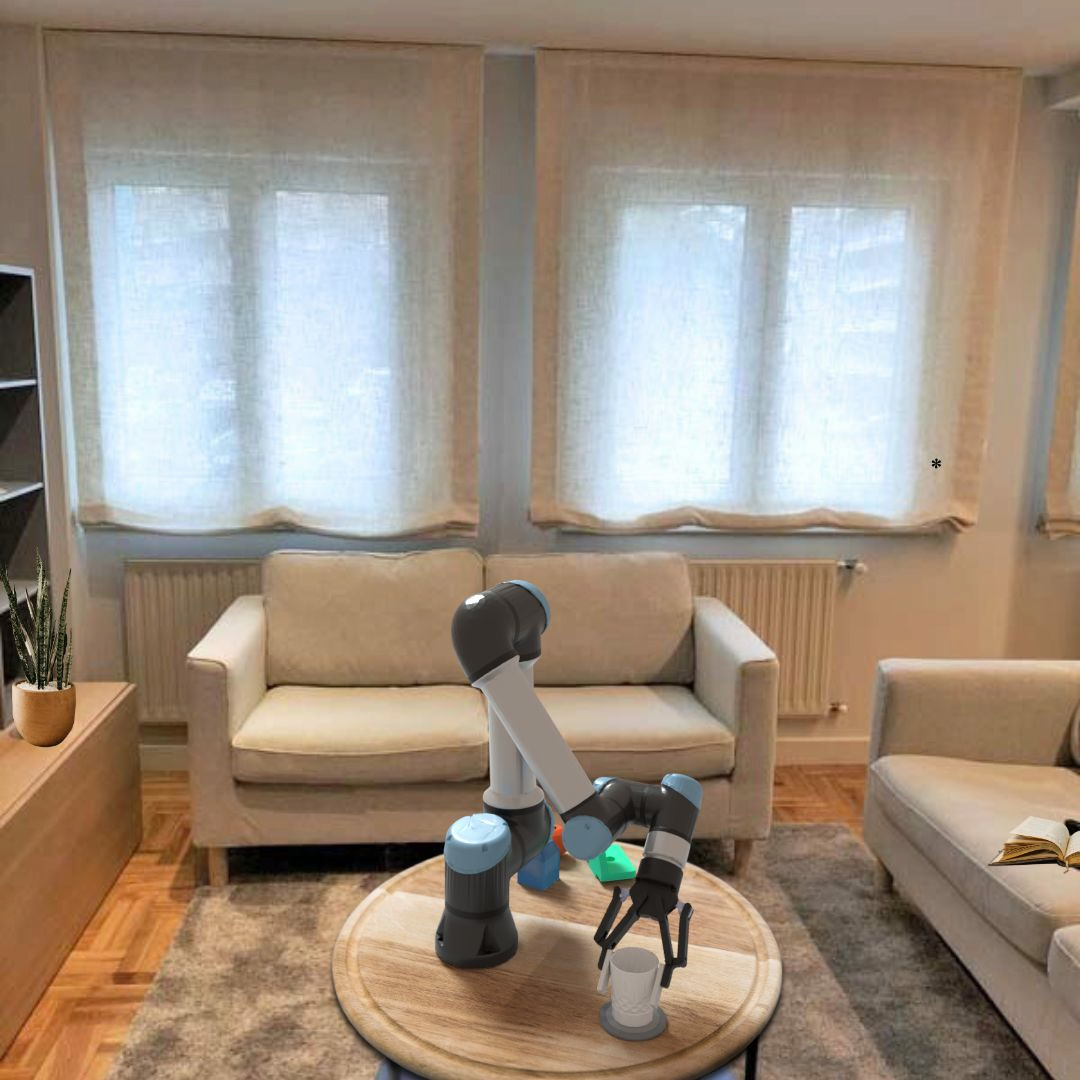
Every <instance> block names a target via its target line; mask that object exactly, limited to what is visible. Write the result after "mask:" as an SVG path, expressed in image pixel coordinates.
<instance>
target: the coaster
mask: <svg viewBox="0 0 1080 1080" xmlns="http://www.w3.org/2000/svg"><path fill="white" fill-rule="evenodd" d="M598 1016H599V1017H598V1020H599V1023H600V1025H601V1028H602V1029H603V1030H604V1031H605V1032H607V1034H609V1035H611V1036H612V1037H615V1038H618V1039H620V1040H622V1041H623V1040H624V1041H629V1042H643V1041H649V1040H652V1039H654V1038H657V1037H658V1036H660V1035H661V1034H662V1033H663V1032H664V1031H665V1029H666V1028H667V1015H666V1012H665V1011H664V1010H663V1008H662V1007H661V1006H660V1005H658V1008H657V1009H654V1014H653V1019H652V1021H651V1022H650V1023H648V1024H647V1025H645V1026H641V1027H628V1026H624V1025H621V1024H620V1023H618V1022H617V1021H616V1020H615V1019H614V1017H613V1015H612V999H610V1000H609V1001H607V1002H605V1003H604V1004H603V1005H602V1006H601V1008H600V1011H599V1014H598Z"/></svg>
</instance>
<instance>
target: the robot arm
mask: <svg viewBox="0 0 1080 1080" xmlns="http://www.w3.org/2000/svg"><path fill="white" fill-rule="evenodd" d="M551 612H552V611H551V607H550V603H549V601H548V599H547V597H546V595H545V594H544V593H543V592H542V591H541V590H540V589H539V588H538V587H537V586H535V584H533V583H530V582H528V581H526V580H519V579H513V580H510V581H503V582H500V583H498V584H497V585H495V586H493V587H491V588H489V589H486V590H484V591H482V592H478V593H474V594H472V595H471V596H468V597H467V598H465V599H464V600H463V601H462V602H461V603H460V604H459V605H458V606H457V608H456V610H455V612H454V614H453V617H452V619H451V625H450V636H451V644H452V647H453V651H454V653H455V657H456V659H457V661H458V664H459V665H460V668H461V670H462V671H463V673H464V675H465V677H466V678H467V680H468V681H469V683H470V685H471V687H473V688H478V689H479V690H481V691H482V693H483V694H484V696H485V698H486V699H487V710H488V711H487V714H488V715H487V716H488V739H489V740H488V741H489V742H488V744H489V747H488V748H489V775H490V776H489V777H490V778H489V779H490V780H489V781H490V782H489V783H490V785H489V787H488V788H486V790H485V791H484V792H483V794H482V807H483V808H482V811H483V812H482V813H481V812H480V813H473V814H472V815H471V816H470V815H465V816H463V817H461V818H459V819H457V820H456V821H455V822H454V823H452V824H451V826H450V827H448V829H447V832H446V834H445V843H444V848H443V856H444V908H443V911H442V913H441V917H440V920H439V923H438V924H437V928H436V931H435V935H434V950H435V952H436V954H437V957H439V958H440V959H441V960H442V961H444V962H445V963H447V964H449V965H451V966H454V967H457V968H460V969H467V970H468V969H469V970H484V969H490V968H495V967H497V966H501V965H503V964H505V963H507V962H508V961H510V960H511V959H512V958H514V956H516V954H517V952H518V949H519V931H518V929H517V926H516V923H515V920H514V916H513V914H512V910H511V908H510V881H511V879H512V878H513V876H514V875H516V874H517V872H518V871H519V870H520V869H522V868H523V867H524V866H525V865H526V864H527V863H529V862H530V861H531V860H532V859H533V858H535V857H536V856H538V855H539V854H540V853H541V852H542V851H543V850H544V849H545V847H546V846H547V844H548V843H549V842H550V840H551V838H552V836H553V833H554V828H555V824H556V821H555V820H556V819H555V814H554V811H553V809H552V807H551V806H550V805H549V804H548V801H547V800H546V798H545V794H546V795H547V797H548V799H549V801H550V802H551V804H552V805H553V807H554V809H555V810H556V812H557V813H558V815H559V817H560V819H561V821H562V822H563V824H564V826H563V830H562V840H563V845H564V847H565V849H566V850H567V851H566V852H567V853H568V854H569V855H570V856H572V857H573V858H575V859H577V860H580V861H585V862H588V860H592V859H595V858H596V857H598V856H599V855H600V854H601V853H603V852H605V851H606V850H607V849H608V848H609V847H610V846H611V845H613V843H614V842H615V841H616V840H617V839H618V838H619V837H620V836H622V834H623V833H625V831H626V830H627V829H629V828H630V827H631V826H635V827H641V828H645V829H648V831H647V832H648V833H647V837H646V840H645V844H644V847H643V850H642V859H640V861H639V865H638V869H637V873H636V874H635V880H634V883H633V884H632V885H631V886H630V887H629V888H626V887H625V888H622V887H621V886H619V885H615V886H614V887H613V891H612V898H611V900H610V901H609V902H610V903H609V905H608V907H607V909H606V911H605V913H604V915H603V917H602V919H601V921H600V923H599V925H598V927H597V929H596V931H595V933H594V935H593V941H594V942H595V943H596V944H597V946H599V948H601V951H600V955H599V958H598V962H597V970H599V971H601V973H600V976H599V980H598V982H597V985H596V990H597V991H598V993H599V994H601V995H604V996H605V995H606V991H607V989H608V985H609V980H610V957H611V955H612V954H613V953H614V952H615V951H614V949H615V948H616V947H617V945H618V944H620V941H621V940H622V939H623V938H624V936H626V934H627V933H628V931H630V929H631V928H632V927H633V925H634V924H635V923H636V922H637V921H638V920H639V919H641V918H643V919H651V920H653V921H656V922H658V926H659V932H660V933H659V934H660V938H661V945H662V950H663V957H664V963H661V962H660V963H659V965H658V972H657V976H656V980H655V984H654V988H653V992H652V995H651V999H650V1003H649V1004H650V1006H651V1007H652V1008H653V1009H657V1008H658V1006H659V1004H660V1000H661V996H662V992H663V988H664V989H667V990H668V989H669V987H670V985H671V982H672V977H673V975H674V974H673V973H674V970H675V969H677V968H682V969H683V968H686V967H687V965H688V955H689V954H688V952H689V938H690V937H689V933H690V922H691V920H692V919H691V918H692V916H693V914H694V912H695V910H694V908H693V906H692V903H690V902H683V901H680V900H679V894H680V888H681V884H682V881H683V877H684V871H683V869H685V868H686V864H687V862H688V858H689V854H690V849H691V845H692V840H693V836H694V834H695V830H696V827H697V823H698V819H699V815H700V814H701V806H702V800H703V795H704V789H703V787H702V785H701V783H700V782H699V781H697V780H696V779H695V778H693V777H690V776H687V775H685V774H682V773H681V774H680V773H667V774H666V775H665V776H663V779H662V781H660V784H649V783H645V782H639V781H633V780H628V779H622V778H621V777H609V776H608V777H605V776H601V777H598V778H596V779H595V780H594V781H593V783H592V782H591V780H590V779H589V776H587V774H586V772H585V770H584V769H583V767H582V766H581V764H580V762H579V761H578V759H577V757H576V756H575V754H574V753H573V751H572V749H571V748H570V746H569V745H568V743H567V742H566V739H565V738H564V737H563V735H562V734H561V732H560V730H559V729H558V727H557V725H556V724H555V722H554V721H553V719H552V717H551V716H550V714H549V712H548V711H547V709H546V708H545V706H544V705H543V703H542V701H541V699H540V697H539V696H538V694H537V693H536V691H535V686H534V685H535V684H534V683H535V682H534V681H535V680H534V664H535V663H536V662H537V661H538V660H539V659H540V658H541V657H542V635H543V634H544V633H545V632H546V630H547V628H548V627H549V626H550V623H551V616H552V615H551V614H552V613H551ZM537 781H538V783H539V784H540V786H541V787H539V786H538V785H537ZM541 788H542V789H541ZM628 897H630V900H631V903H632V904H631V905H630V907H629V908H628V909H627V911H626V913H625V914H624V916H623V917H622V919H621V920H620V921H619V922H618V924H616V926H615V927H614V929H613V930H611V929H612V927H613V925H614V923H615V921H616V918H617V917H618V914H619V913H620V911H621V908H622V905H623V903H624V902H626V900H627V899H628ZM676 909H677V913H678V915H679V920H678V921H679V922H678V934H677V935H678V937H677V952H676V957H675V953H674V950H673V949H674V947H673V942H672V937H671V936H672V935H671V931H670V923H669V922H670V921H669V915H670V914H671V913H673V911H674V910H676ZM610 931H611V932H610Z"/></svg>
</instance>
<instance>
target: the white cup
mask: <svg viewBox="0 0 1080 1080" xmlns="http://www.w3.org/2000/svg"><path fill="white" fill-rule="evenodd" d="M613 952H614V953H613V954H612V955H611V957H610V978H609V980H610V998H611V999H610V1000H612V1015H613V1017H614V1019H615V1020H616V1021H617V1022H618V1023H620V1024H621V1025H624V1026H628V1027H641V1026H645V1025H647V1024H648V1023H650V1022H651V1021H652V1019H653V1014H654V1009H653V1008H652V1007H651V1006H650V1004H649V1003H650V999H651V995H652V992H653V988H654V984H655V980H656V976H657V972H658V968H659V964H660V963H659V962H660V960H659V957H658V956H657V955H656V954H655V953H654V952H652V951H650V950H649V949H645V948H644V947H643V948H642V947H637V946H629V947H627V946H626V947H621V948H619V949H617V950H615V951H613Z"/></svg>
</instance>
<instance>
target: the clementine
mask: <svg viewBox="0 0 1080 1080" xmlns="http://www.w3.org/2000/svg"><path fill="white" fill-rule="evenodd" d="M563 828H564V826H563V827H562V826H561V825H560V824H556V823H555V828H554V833H553V836H552V838H551V840H553V841H554V843H555V844H556V846H557V847H558V849H559V850H560V857H562V856H564V855H565V854H566V852H567V850H566V849H565V847H564V845H563V840H562V830H563Z"/></svg>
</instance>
